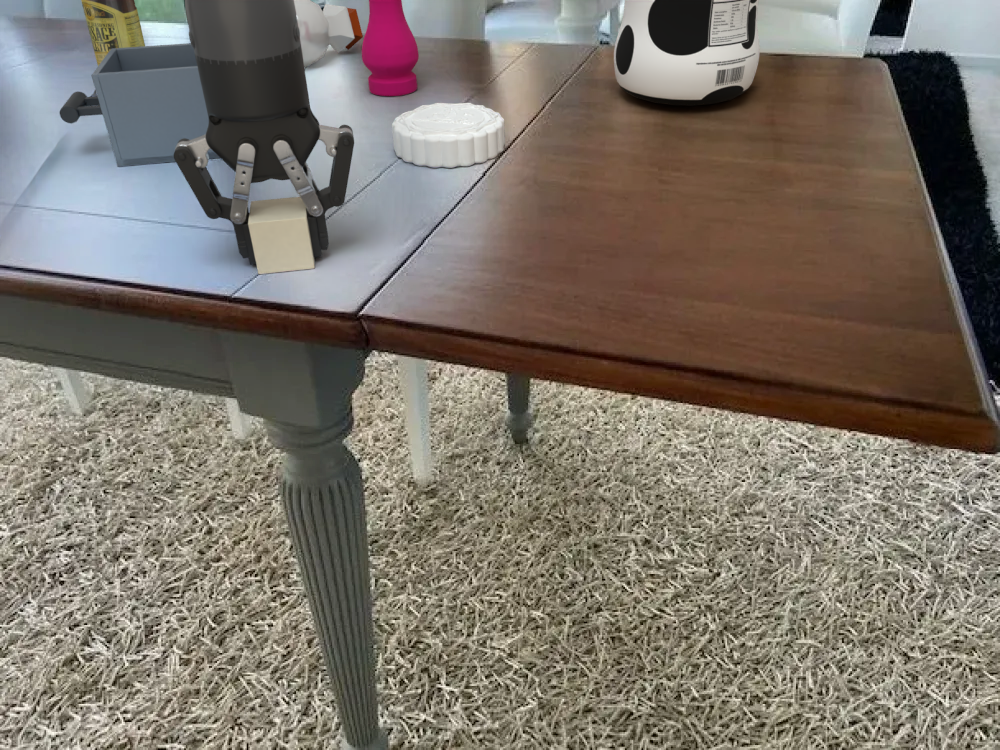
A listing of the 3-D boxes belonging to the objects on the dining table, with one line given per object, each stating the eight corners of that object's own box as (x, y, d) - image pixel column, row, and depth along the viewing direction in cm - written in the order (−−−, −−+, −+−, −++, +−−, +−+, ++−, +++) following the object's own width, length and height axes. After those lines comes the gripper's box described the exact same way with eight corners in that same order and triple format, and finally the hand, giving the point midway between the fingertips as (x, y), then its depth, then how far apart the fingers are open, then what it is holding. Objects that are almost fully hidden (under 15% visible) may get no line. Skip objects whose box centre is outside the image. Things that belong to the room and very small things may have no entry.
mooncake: (516, 134, 96) (515, 101, 94) (489, 172, 86) (488, 138, 84) (415, 127, 98) (412, 96, 96) (377, 164, 89) (374, 130, 87)
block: (258, 274, 69) (247, 223, 66) (260, 250, 73) (250, 201, 70) (314, 268, 70) (306, 217, 67) (314, 245, 73) (306, 195, 71)
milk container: (636, 70, 116) (645, -78, 106) (765, 83, 110) (789, -74, 100) (592, 107, 103) (598, -58, 93) (736, 123, 97) (759, -52, 87)
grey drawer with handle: (68, 171, 89) (38, 78, 84) (89, 137, 98) (64, 51, 93) (233, 156, 92) (215, 66, 86) (239, 124, 101) (223, 40, 95)
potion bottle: (267, 83, 120) (342, 71, 131) (304, 47, 113) (380, 37, 124) (236, 22, 119) (314, 15, 130) (271, -18, 112) (351, -22, 123)
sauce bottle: (96, 95, 112) (47, -74, 101) (136, 83, 117) (94, -81, 105) (126, 102, 109) (79, -71, 98) (166, 90, 113) (126, -78, 102)
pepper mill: (376, 81, 115) (358, -87, 103) (427, 83, 113) (416, -87, 102) (357, 96, 109) (337, -80, 98) (412, 99, 108) (397, -80, 96)
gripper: (345, 24, 65) (369, 229, 75) (151, 37, 63) (202, 246, 73) (349, 48, 59) (375, 267, 69) (135, 63, 57) (193, 287, 67)
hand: (286, 255), depth 71 cm, fingers closed on block, 4 cm apart
